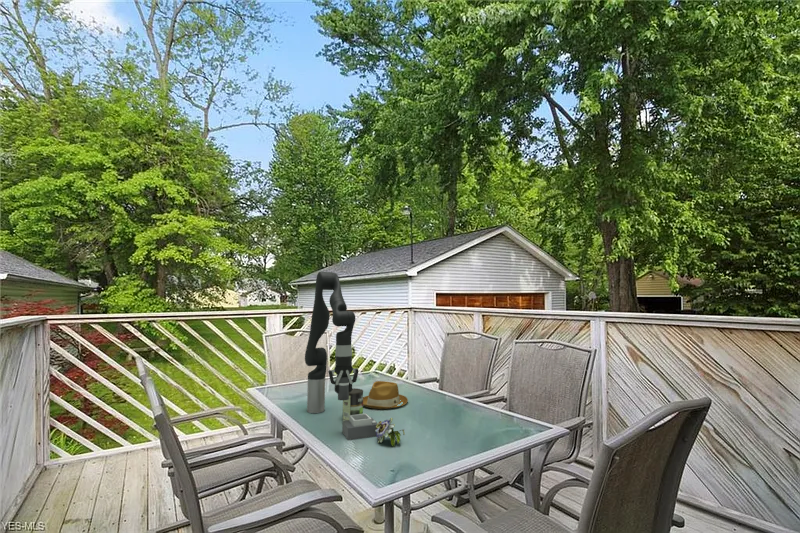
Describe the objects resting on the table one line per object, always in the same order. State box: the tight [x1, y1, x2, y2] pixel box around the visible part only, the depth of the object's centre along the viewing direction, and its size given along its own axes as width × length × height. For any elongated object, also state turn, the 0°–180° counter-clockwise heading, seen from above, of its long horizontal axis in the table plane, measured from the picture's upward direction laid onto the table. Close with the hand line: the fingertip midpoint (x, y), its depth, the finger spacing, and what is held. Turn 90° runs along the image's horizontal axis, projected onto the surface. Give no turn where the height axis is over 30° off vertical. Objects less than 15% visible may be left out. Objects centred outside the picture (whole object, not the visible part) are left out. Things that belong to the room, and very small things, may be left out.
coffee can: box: [342, 387, 364, 421], centre depth 199 cm, size 10×10×14 cm
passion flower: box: [375, 417, 406, 448], centre depth 169 cm, size 11×11×12 cm
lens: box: [337, 377, 349, 401], centre depth 180 cm, size 5×5×10 cm
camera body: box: [341, 413, 379, 441], centre depth 178 cm, size 10×14×8 cm
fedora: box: [363, 380, 409, 410], centre depth 227 cm, size 27×29×12 cm
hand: (343, 392), depth 180 cm, fingers closed on lens, 5 cm apart
